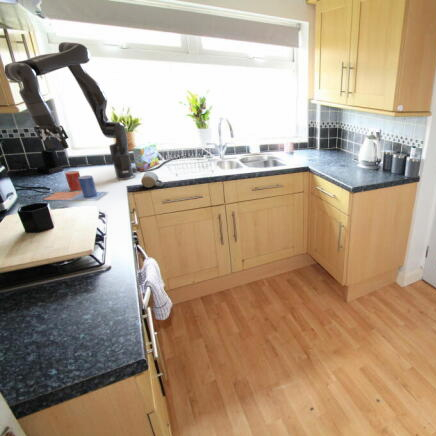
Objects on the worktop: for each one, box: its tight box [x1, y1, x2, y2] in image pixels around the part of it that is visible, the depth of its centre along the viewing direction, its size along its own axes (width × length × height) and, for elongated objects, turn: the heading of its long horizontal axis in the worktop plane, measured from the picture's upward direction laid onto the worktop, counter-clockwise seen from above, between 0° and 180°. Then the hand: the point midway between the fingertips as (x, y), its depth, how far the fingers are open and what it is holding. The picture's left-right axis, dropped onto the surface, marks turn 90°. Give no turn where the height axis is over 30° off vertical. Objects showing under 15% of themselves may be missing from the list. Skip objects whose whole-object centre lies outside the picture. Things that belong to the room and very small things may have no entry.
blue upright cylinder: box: [78, 175, 98, 198], centre depth 163 cm, size 6×6×10 cm
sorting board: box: [43, 191, 107, 201], centre depth 165 cm, size 11×24×1 cm, turn 99°
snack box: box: [131, 142, 160, 171], centre depth 218 cm, size 21×6×15 cm, turn 1°
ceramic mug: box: [140, 171, 164, 189], centre depth 183 cm, size 11×8×8 cm
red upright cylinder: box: [64, 170, 82, 192], centre depth 172 cm, size 6×6×10 cm
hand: (58, 148), depth 150 cm, fingers open, 8 cm apart
